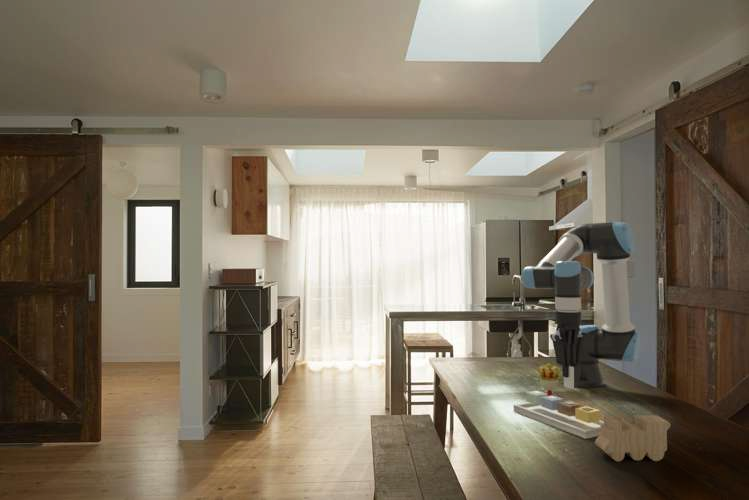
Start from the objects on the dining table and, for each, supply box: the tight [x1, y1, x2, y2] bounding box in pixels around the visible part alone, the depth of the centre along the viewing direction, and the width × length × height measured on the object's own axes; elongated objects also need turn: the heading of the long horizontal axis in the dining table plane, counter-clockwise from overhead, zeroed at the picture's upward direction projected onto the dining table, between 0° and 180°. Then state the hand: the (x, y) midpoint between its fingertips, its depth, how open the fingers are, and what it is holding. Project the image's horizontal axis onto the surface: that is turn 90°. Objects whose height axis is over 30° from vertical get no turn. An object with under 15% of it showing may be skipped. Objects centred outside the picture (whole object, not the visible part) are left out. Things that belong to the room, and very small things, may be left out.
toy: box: [537, 363, 561, 396], centre depth 186 cm, size 7×7×15 cm
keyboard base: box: [513, 402, 604, 440], centre depth 164 cm, size 12×30×2 cm, turn 26°
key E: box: [525, 390, 548, 405], centre depth 174 cm, size 5×5×3 cm
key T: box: [558, 400, 582, 416], centre depth 161 cm, size 5×5×3 cm
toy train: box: [594, 414, 672, 462], centre depth 135 cm, size 6×17×10 cm, turn 91°
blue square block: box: [541, 394, 565, 410], centre depth 168 cm, size 5×5×3 cm
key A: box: [575, 405, 601, 423], centre depth 155 cm, size 5×5×3 cm
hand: (568, 387), depth 161 cm, fingers closed
